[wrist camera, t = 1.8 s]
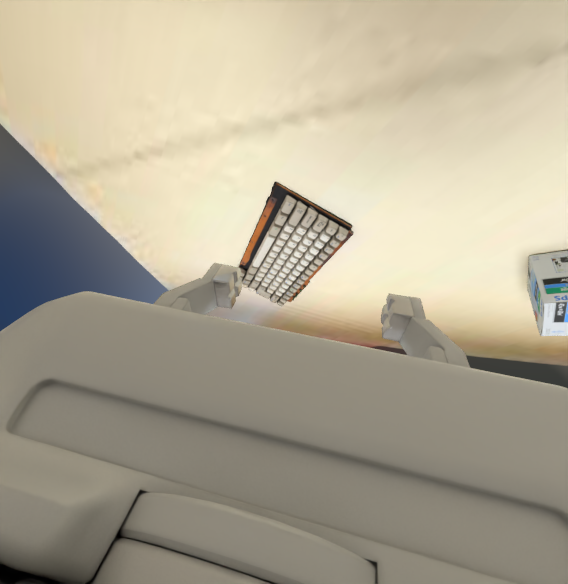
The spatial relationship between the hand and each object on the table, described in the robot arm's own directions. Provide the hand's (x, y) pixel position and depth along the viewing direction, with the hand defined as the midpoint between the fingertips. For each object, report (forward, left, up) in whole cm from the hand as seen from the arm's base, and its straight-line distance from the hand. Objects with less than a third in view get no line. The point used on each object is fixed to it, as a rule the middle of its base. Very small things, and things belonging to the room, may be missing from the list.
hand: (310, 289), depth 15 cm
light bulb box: (+7, +47, -36) cm, 59 cm away
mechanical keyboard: (+41, +6, -36) cm, 55 cm away
